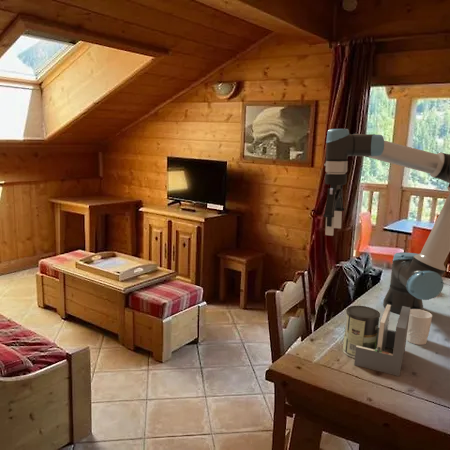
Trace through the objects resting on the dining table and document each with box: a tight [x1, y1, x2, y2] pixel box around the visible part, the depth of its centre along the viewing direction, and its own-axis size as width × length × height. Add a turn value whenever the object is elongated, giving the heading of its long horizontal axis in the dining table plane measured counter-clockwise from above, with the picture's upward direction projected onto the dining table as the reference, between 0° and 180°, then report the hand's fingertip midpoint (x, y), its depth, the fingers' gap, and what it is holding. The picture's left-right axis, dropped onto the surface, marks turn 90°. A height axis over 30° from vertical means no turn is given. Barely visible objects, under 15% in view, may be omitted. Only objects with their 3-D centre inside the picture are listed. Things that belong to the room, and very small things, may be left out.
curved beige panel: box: [376, 304, 391, 352], centre depth 142 cm, size 1×18×14 cm, turn 154°
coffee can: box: [342, 305, 381, 359], centre depth 146 cm, size 10×10×14 cm
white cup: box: [406, 309, 433, 346], centre depth 156 cm, size 8×8×10 cm
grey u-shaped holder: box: [354, 306, 410, 377], centre depth 143 cm, size 13×18×15 cm
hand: (333, 231), depth 166 cm, fingers open, 13 cm apart
